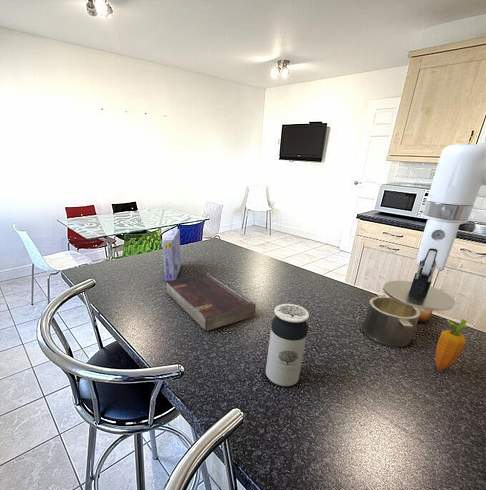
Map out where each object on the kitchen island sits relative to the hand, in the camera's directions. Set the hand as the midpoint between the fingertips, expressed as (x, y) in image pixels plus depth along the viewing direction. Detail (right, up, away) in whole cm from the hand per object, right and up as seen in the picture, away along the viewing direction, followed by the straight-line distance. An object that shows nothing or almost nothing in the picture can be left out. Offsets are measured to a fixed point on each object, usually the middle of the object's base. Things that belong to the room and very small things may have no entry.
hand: (417, 292), depth 66 cm
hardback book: (-48, -7, +37) cm, 61 cm away
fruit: (+21, -11, +31) cm, 39 cm away
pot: (+6, -14, +23) cm, 28 cm away
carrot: (+11, -21, +8) cm, 25 cm away
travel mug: (-29, -21, +6) cm, 36 cm away
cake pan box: (-63, +5, +62) cm, 89 cm away
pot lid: (0, -1, 0) cm, 1 cm away
